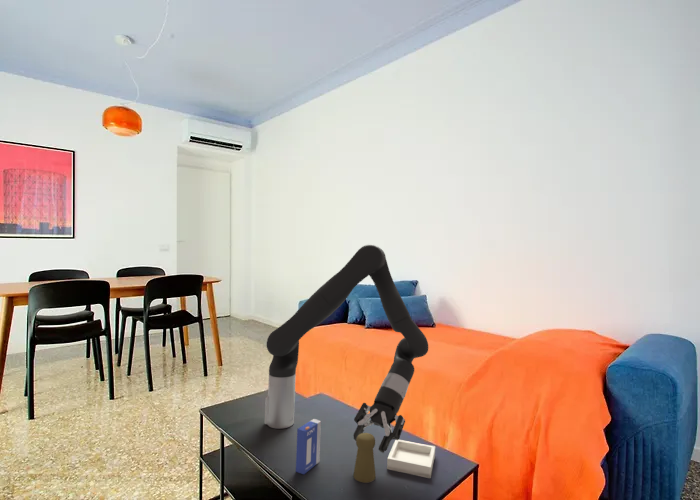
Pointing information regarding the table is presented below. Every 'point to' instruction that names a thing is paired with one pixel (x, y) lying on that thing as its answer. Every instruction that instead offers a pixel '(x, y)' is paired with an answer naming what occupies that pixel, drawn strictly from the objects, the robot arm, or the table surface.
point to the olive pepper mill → (365, 458)
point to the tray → (411, 458)
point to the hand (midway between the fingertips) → (368, 445)
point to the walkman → (308, 446)
